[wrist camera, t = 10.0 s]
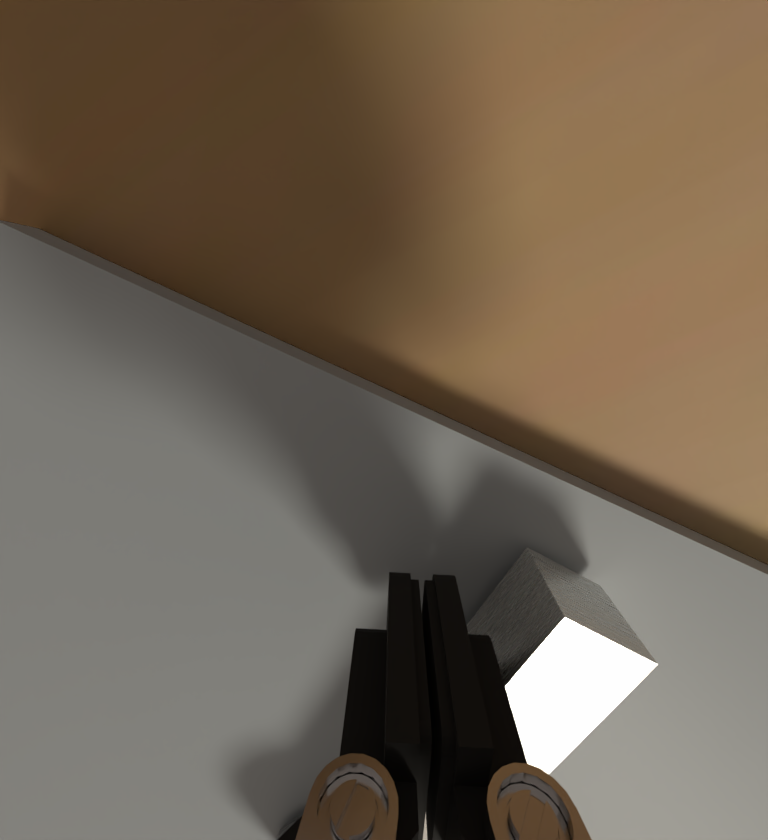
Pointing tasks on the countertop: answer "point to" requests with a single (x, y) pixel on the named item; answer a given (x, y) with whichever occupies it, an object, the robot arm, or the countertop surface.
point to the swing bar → (557, 656)
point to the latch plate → (299, 575)
